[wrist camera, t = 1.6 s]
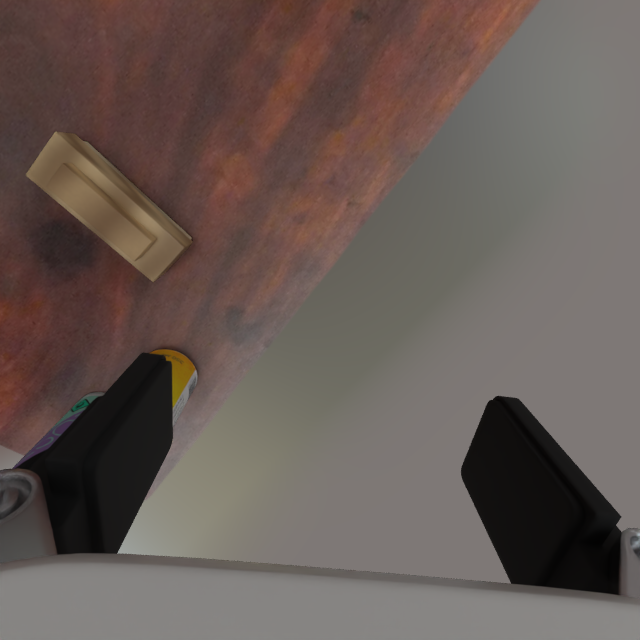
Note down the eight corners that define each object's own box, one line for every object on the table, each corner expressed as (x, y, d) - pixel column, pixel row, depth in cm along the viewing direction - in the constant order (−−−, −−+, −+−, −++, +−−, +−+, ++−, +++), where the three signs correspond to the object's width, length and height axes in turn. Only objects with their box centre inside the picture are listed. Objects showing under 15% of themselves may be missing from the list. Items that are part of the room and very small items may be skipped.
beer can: (141, 342, 38) (42, 443, 24) (199, 348, 38) (135, 452, 25) (144, 390, 40) (56, 508, 27) (199, 396, 41) (141, 514, 27)
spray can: (120, 390, 40) (-42, 580, 22) (133, 429, 42) (-4, 632, 24) (71, 393, 40) (-131, 585, 22) (87, 432, 43) (-85, 636, 24)
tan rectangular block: (56, 173, 31) (12, 175, 27) (85, 134, 30) (44, 129, 26) (169, 270, 35) (147, 286, 30) (198, 239, 34) (179, 251, 29)
